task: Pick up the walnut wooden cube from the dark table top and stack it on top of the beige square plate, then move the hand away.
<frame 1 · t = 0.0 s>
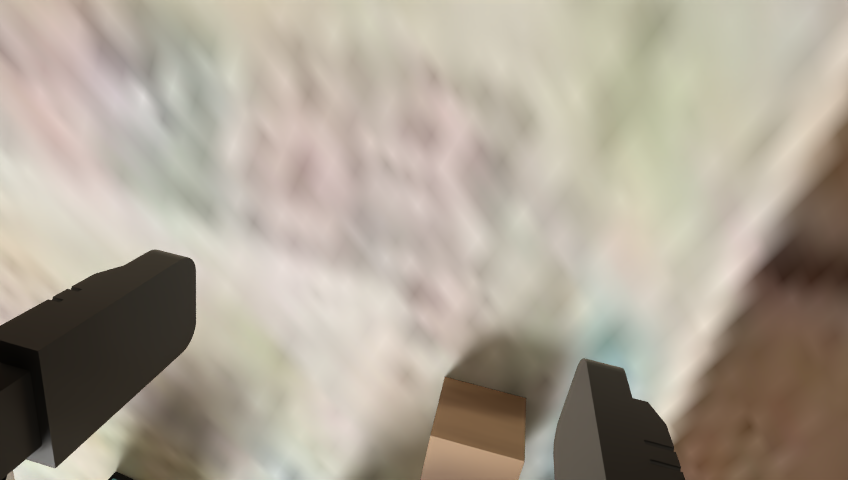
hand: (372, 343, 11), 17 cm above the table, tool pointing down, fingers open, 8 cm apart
walnut cube: (476, 417, 33), on the table
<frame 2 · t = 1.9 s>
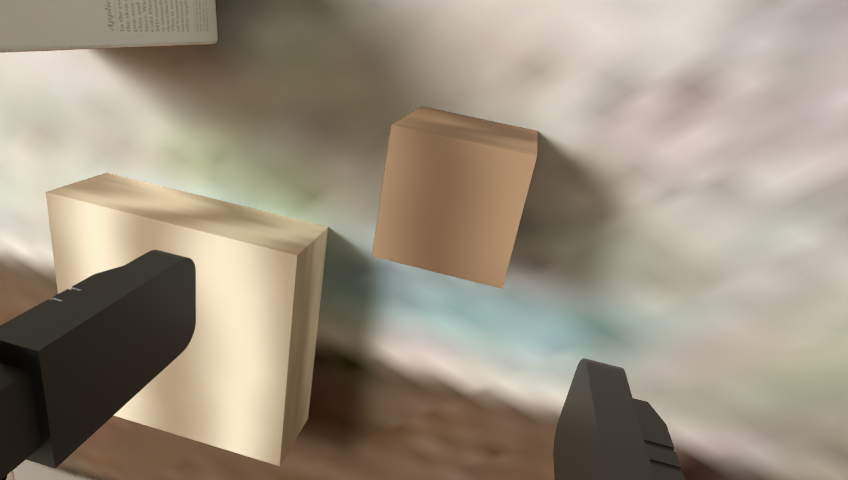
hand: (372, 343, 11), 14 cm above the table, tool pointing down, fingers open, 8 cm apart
walnut cube: (466, 174, 23), on the table
beige square plate: (217, 299, 29), on the table
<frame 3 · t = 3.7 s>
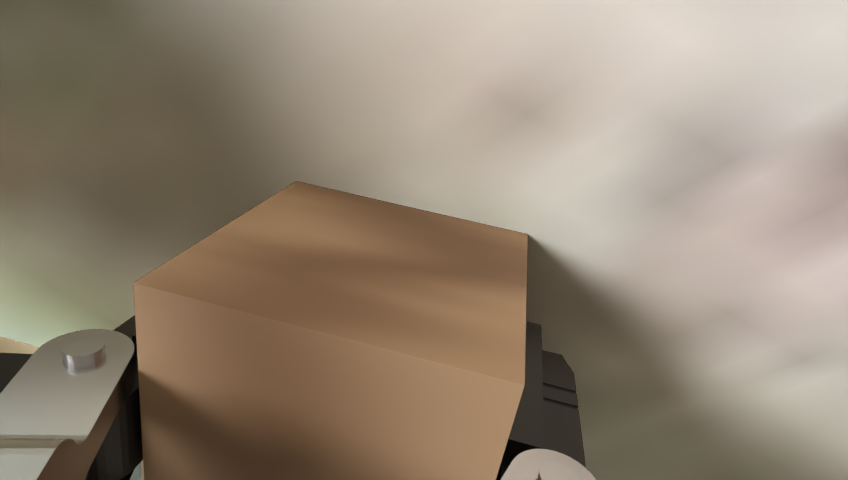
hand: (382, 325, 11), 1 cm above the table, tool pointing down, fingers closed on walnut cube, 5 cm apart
walnut cube: (391, 309, 12), on the table, touching gripper
beige square plate: (5, 470, 17), on the table
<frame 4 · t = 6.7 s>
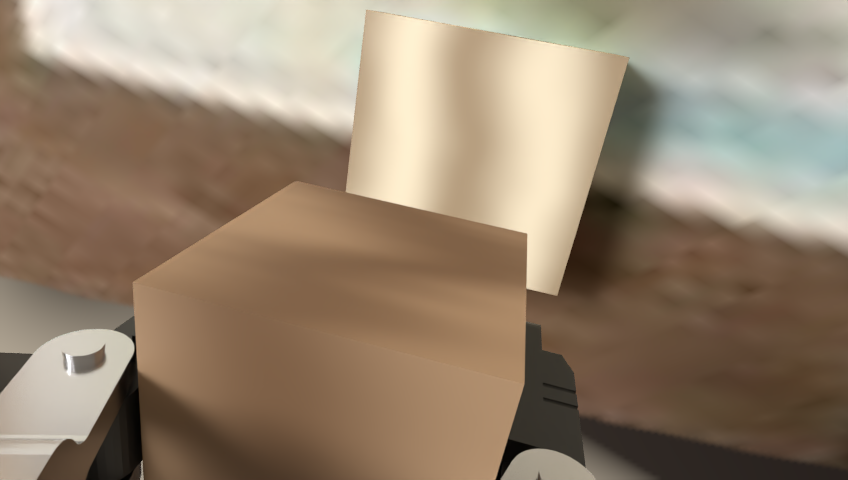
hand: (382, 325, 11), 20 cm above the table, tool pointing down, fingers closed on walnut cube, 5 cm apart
walnut cube: (391, 309, 12), point 19 cm above the table, touching gripper
beige square plate: (475, 146, 29), on the table
when the fingers open (6 cm above the table, at t = 9.7 s): walnut cube drops 2 cm, point 3 cm above the table.
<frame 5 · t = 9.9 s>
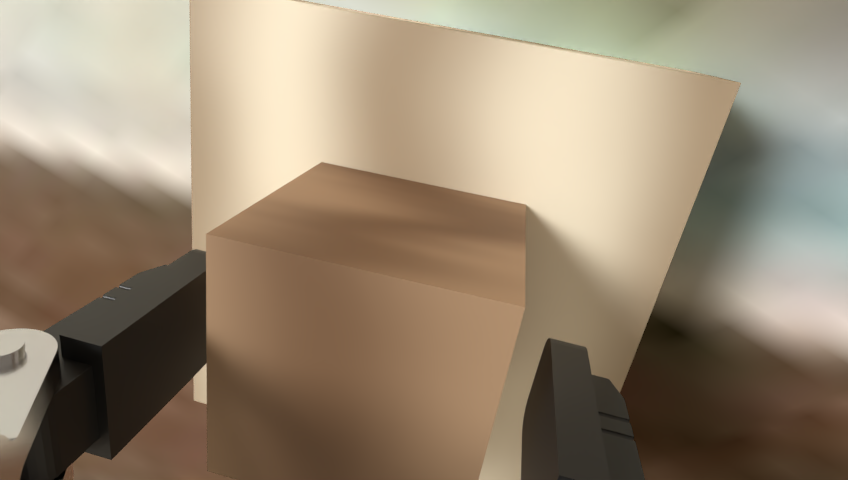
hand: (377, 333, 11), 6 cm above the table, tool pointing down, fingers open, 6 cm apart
walnut cube: (406, 275, 13), point 3 cm above the table
beige square plate: (433, 225, 17), on the table
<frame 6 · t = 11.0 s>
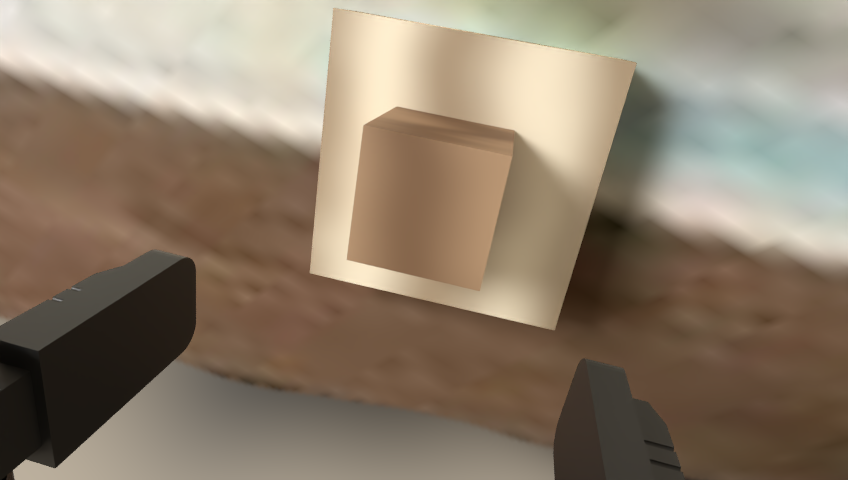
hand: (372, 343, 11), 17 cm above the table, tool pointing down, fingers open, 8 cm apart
walnut cube: (444, 175, 23), point 3 cm above the table
beige square plate: (462, 161, 26), on the table
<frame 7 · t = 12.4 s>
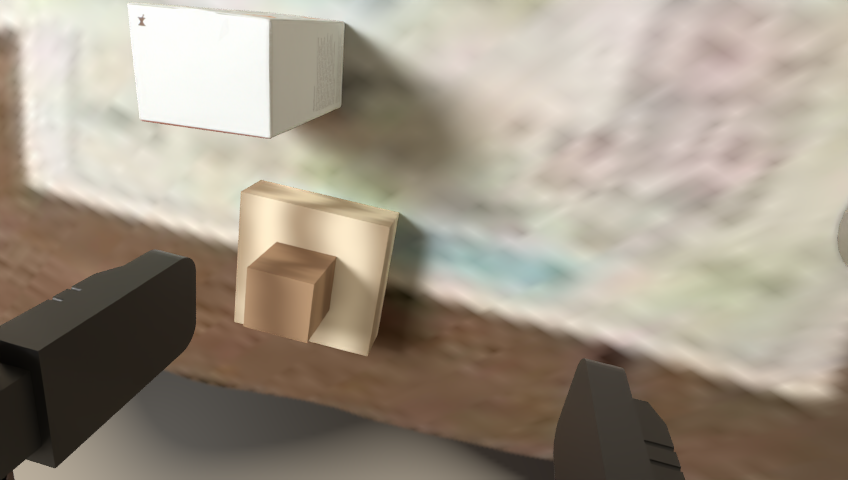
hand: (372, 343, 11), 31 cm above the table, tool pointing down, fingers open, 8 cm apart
walnut cube: (303, 276, 43), point 3 cm above the table, touching beige square plate
small box: (295, 60, 40), on the table
beige square plate: (323, 258, 46), on the table, touching walnut cube
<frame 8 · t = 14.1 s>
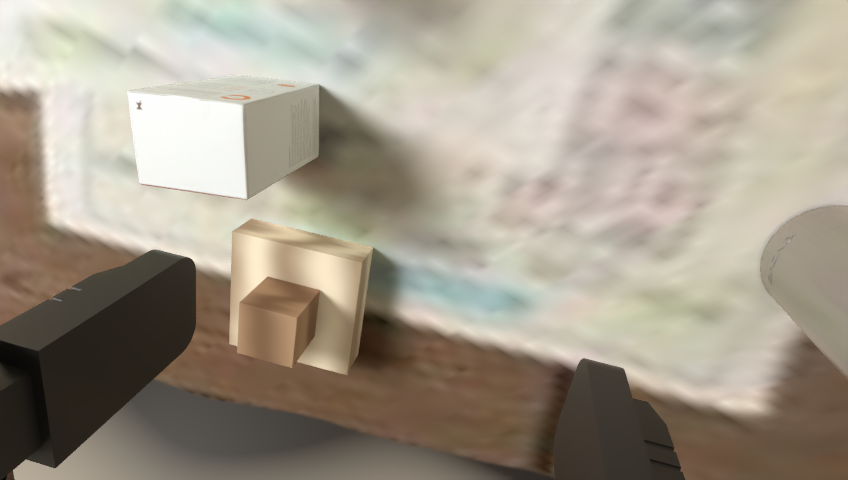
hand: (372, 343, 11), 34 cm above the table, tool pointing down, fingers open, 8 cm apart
walnut cube: (291, 306, 48), point 3 cm above the table, touching beige square plate
small box: (278, 116, 46), on the table
beige square plate: (308, 286, 52), on the table, touching walnut cube
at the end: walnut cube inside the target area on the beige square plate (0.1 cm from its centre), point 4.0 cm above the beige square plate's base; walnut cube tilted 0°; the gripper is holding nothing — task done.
